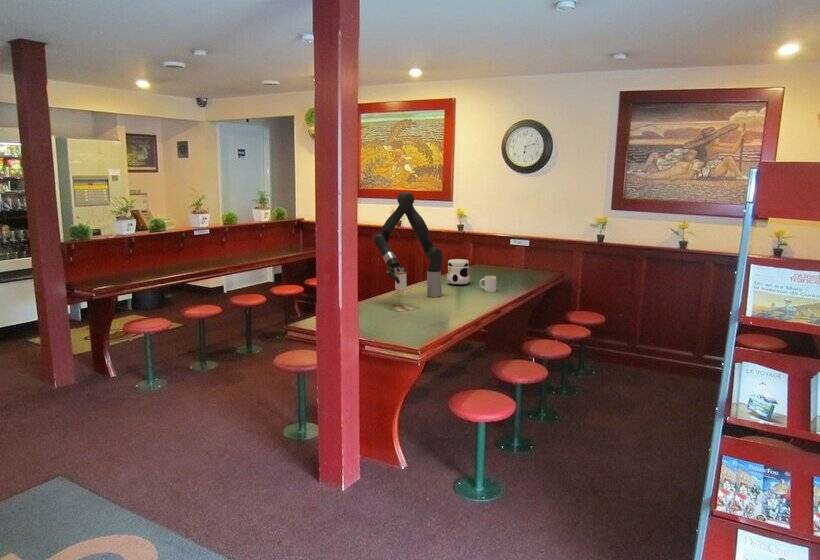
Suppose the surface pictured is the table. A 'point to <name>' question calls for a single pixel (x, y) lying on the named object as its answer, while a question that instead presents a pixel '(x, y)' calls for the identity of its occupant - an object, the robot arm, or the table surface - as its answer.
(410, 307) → the mat
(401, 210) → the robot arm
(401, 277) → the canister
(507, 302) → the table surface
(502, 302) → the table surface
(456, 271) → the milk container
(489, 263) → the table surface
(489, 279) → the mug
